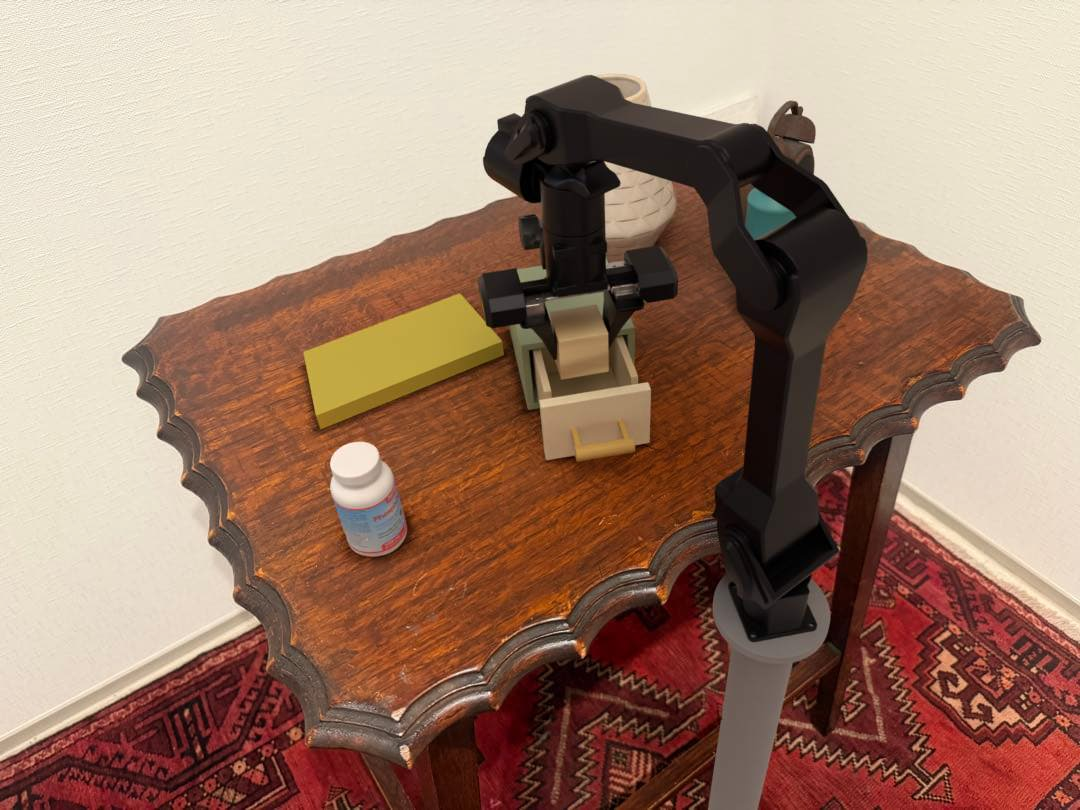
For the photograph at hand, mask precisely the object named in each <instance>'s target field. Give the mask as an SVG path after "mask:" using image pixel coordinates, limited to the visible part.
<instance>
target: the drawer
mask: <svg viewBox="0 0 1080 810" xmlns="http://www.w3.org/2000/svg"><path fill="white" fill-rule="evenodd" d="M608 351H609V372H603V373H597V374H591V375H586V376H580V377H574V378H568V379H562V380H561V378H560V374H559V371H558V368H557V365H556V361H555V360H553V358H552V357H551V355H550V353H549V351H548V350H547V348H546V347H545V348H538V349H532V350H530V357H531V367H532V377H533V381H534V385H535V389H536V393H537V397H538V401H539V405H540V408H539V413H540V422H541V430H542V431H541V433H542V443H543V444H542V445H543V454H544V457H545V460H546V461H551V460H556V459H557V460H558V459H563V458H567V457H568V458H569V457H575V461H576V463H580V462H586V461H591V460H597V459H603V458H610V457H615V456H620V455H627V454H632V453H636V446H640V445H645V444H650V442H651V404H652V403H651V399H652V389H651V386H650V383H649V382H648V381H647V382H640V383H639V375H638V372H637V369H636V367H634V364H633V362H632V359H631V357H630V354H629V351H628V349H627V346H626V344H625V341H624V338H623V336H622V335H620V336H617V337H616V338H615V340H614V342H613V343H612V345H611V346H610V348H609V350H608Z"/></svg>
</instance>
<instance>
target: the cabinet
mask: <svg viewBox="0 0 1080 810" xmlns="http://www.w3.org/2000/svg"><path fill="white" fill-rule="evenodd" d="M608 264H609V263H608V261H607V258H606V267H607V265H608ZM516 269H517V272H518V275H519V279H520V282H527V281H533V280H540V279H544V277H547V275H546V269H545V270H543V268H542V265H537V266H530V267H523V268H516ZM603 302H604V294H603V292H600V293H593V294H587V295H581V296H575V297H569V298H563V299H557V300H550V301H546V302H545V305H546V308H547V311H548V315H549V312H552V311H558V310H564V309H570V308H576V307H582V306H589V305H595V304H597V306H598V308H599V311H600V314H601V316H602V315H603ZM549 318H550V317H549ZM635 332H636V327H635V325H634V322H633V319H632V316H631V317H630V318H629V320H628V321H627V322H626V323H625V325H624V326H623V327H622V329H621V330H620V332H619V333H618V335H617V336H620V335H622V336H623V338H624V341H625V344H626V346H627V349H628V351H629V354H630V357H631V359H632V362H633V364H634V367H635V364H636V363H635V361H636V360H635V359H636V356H635V354H636V350H635V349H636V346H635V345H636V334H635ZM509 334H510V338H511V343H512V346H513V351H514V355H515V360H516V365H517V368H518V373H519V377H520V382H521V386H522V390H523V395H524V399H525V403H526V407H527V410H528V411H531V410H537V409H540V405H539V401H538V397H537V393H536V389H535V385H534V381H533V377H532V367H531V357H530V350H532V349H538V348H545V347H546V346H545V344H544V343H543V341H542V340H541V339H540V338H539V336H538V335H537V334H536V333H535V332H534V331H533V330H532V329H523V328H521V327H520V324H517V325H511V326H509ZM635 368H636V367H635Z"/></svg>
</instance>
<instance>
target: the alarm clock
mask: <svg viewBox="0 0 1080 810" xmlns="http://www.w3.org/2000/svg"><path fill="white" fill-rule="evenodd" d="M789 111H790V112H791V113H787V112H789ZM803 112H804V107H803V106H799V103H798V101H796V100H792V99H791V100H788V101H786V102H784V103H783V104H782V106H779V108H778V109H777V110H776V112H775V113H774V115H773V116H772V118H771V119H770V121H769V124H768V126H767V129H766V131H767V132H768V133H769V134H770V136H771V137H772V139H773V140H774V142H775V143H776V144H777V146H778V147H779V149H780V150H781V152H782V153H783V155H785V156H786V157H789V158H791V159H793V160H794V161H795V162H796V163H797V164H798V165H800V166H801V167H803V168H804V169H806V170H807V171H809V172H811V173H812V174H814V175H815V164H816V163H815V156H814V150H813V147H812V146H811V145H810V144H813V145H814V144H815V143H816V136H817V135H816V134H817V133H816V131H817V130H816V125H815V123H814V121H812V119H810V118H809V117H807V116H805V115H803ZM754 188H755V187H754V186H753V185H752V184H751V183H750V184H748V185H746V186H744V187H742V188H740V196H741V204H742V211H743V219H744V225H745V223H746V213H747V204H748V201H747V197H748V194H749V193H750V191H752V190H753V189H754Z"/></svg>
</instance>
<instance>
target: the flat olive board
mask: <svg viewBox="0 0 1080 810" xmlns="http://www.w3.org/2000/svg"><path fill="white" fill-rule="evenodd" d="M502 356H505V350H504V344H503V340H502V339H501V338H500V337H499V336H498V334H497V333H496V332H495V331H494V330H493V328H490V327H488V326H486V322H485V319H484V318H483V317H482V316H481V315H480V314H479V313H478V311H476V310H475V309H474V307H473V306H472V305H471V303H469V301H467V299H466V298H465V297H464V296H463V295H462V294H461V293H457V294H454V295H452V296H449V297H447V298H444V299H441V300H438V301H435V302H433V303H430V304H428V305H425V306H422V307H419V308H417V309H415V310H412V311H409V312H406V313H404V314H401V315H399V316H396V317H395V316H394V317H393V318H391V319H387V320H385V321H382V322H379V323H377V324H374V325H372V326H368V327H366V328H363V329H361V330H358V331H355V332H352V333H349V334H348V335H345V336H342V337H339V338H337V339H335V340H331V341H328V342H326V343H324V344H320V345H318V346H316V347H313V348H310V349H308V350H304V351H303V357H304V358H303V359H304V363H305V368H306V373H307V377H308V382H309V388H310V393H311V399H312V403H313V408H314V414H315V417H316V421H317V423H318V426H319V429H320V430H322V429H325V428H328V427H330V426H333V425H335V424H338V423H340V422H343V421H345V420H348V419H350V418H353V417H355V416H357V415H359V414H362V413H365V412H367V411H370V410H372V409H374V408H377V407H380V406H381V405H382V406H383V405H385V404H387V403H389V402H392V401H394V400H396V399H399V398H401V397H404V396H406V395H407V396H408V395H409V394H412V393H414V392H416V391H419V390H421V389H424V388H426V387H429V386H431V385H434V384H436V383H439V382H441V381H443V380H446V379H449V378H451V377H453V376H455V375H458V374H460V373H463V372H465V371H468V370H471V369H473V368H476V367H478V366H480V365H483V364H485V363H488V362H490V361H493V360H496V359H498V358H500V357H502Z"/></svg>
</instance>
